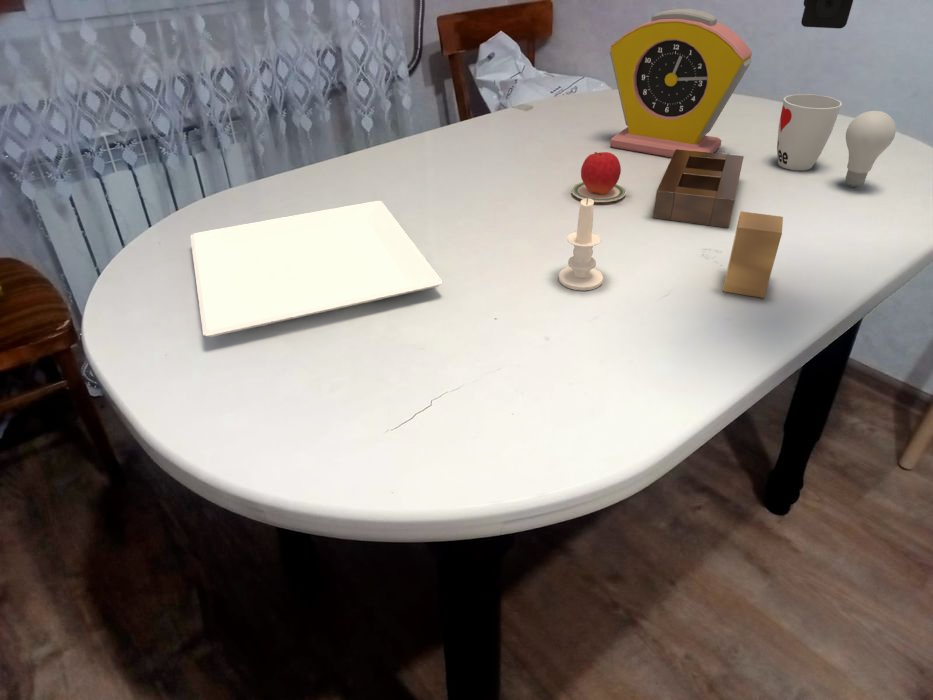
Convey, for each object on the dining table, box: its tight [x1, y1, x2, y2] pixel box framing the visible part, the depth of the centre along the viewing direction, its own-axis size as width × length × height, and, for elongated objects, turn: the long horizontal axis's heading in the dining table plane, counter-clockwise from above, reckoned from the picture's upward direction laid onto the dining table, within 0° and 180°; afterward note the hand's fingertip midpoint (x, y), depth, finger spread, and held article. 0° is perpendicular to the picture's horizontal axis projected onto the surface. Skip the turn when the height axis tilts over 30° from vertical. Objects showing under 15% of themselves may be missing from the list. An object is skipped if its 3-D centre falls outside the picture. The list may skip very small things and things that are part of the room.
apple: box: [571, 151, 627, 203], centre depth 97 cm, size 8×8×6 cm
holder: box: [652, 149, 745, 229], centre depth 95 cm, size 10×18×4 cm, turn 157°
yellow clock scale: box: [609, 7, 753, 159], centre depth 108 cm, size 22×9×22 cm, turn 56°
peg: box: [722, 211, 784, 299], centre depth 73 cm, size 4×4×8 cm
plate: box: [189, 200, 444, 338], centre depth 81 cm, size 26×26×2 cm
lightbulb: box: [844, 110, 897, 188], centre depth 95 cm, size 6×6×11 cm
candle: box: [558, 197, 604, 292], centre depth 75 cm, size 5×5×10 cm
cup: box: [776, 93, 843, 171], centre depth 103 cm, size 8×8×10 cm
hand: (822, 16), depth 55 cm, fingers open, 9 cm apart
